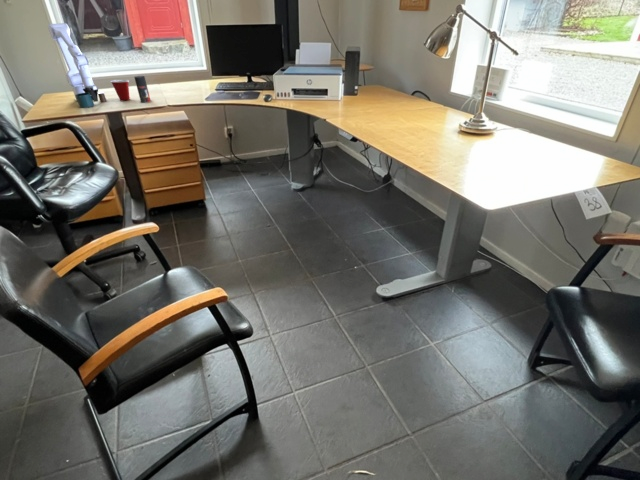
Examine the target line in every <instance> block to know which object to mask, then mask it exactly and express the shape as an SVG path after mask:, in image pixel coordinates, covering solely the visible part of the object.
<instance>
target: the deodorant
mask: <svg viewBox="0 0 640 480" xmlns="http://www.w3.org/2000/svg"><path fill="white" fill-rule="evenodd" d="M134 81H135V85H136V88H137V93H138V97H139V100H140V103H141V104H146V103H151V101H152V100H151V97H150V92H149V88H148V85H147V80H146V77H145V75H135V76H134Z"/></svg>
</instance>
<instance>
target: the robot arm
mask: <svg viewBox="0 0 640 480" xmlns="http://www.w3.org/2000/svg"><path fill="white" fill-rule="evenodd" d="M47 29H48V32H49V34H50V37H51V38H52V40H53V41H55V42H56V43H57V45H58V47H59V49H60V52H61V54H62V57H63V58H64V62H65V64H66V67H67V68H68V70H67V71H66V74H65V75H66V80H67V82H68V84H69V86H70V87H72V93H73V95H74V98H75V99H74V101H76V102H78V101H77V99H76V96H75V95H77V94H80V93H90V95H91V96H92V97H91V98H92V100H93V103H94V102H98V100H99V96H98V92H99V89H98V88H97V85H95V84H94V81H93V78H92V77H93V76H92V74H91V71H90V68H89V65H90V64H89V60H88V57H87V56H86V54H84V53H82V52H81V50H80V48H79V46H78V45H76V44H75V43H74V42H73V40H72V38H71V30H70V27H69V25H68V24H67V23H66V22H62V23H61V22H60V23H48V24H47Z"/></svg>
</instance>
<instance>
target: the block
mask: <svg viewBox="0 0 640 480" xmlns="http://www.w3.org/2000/svg"><path fill="white" fill-rule="evenodd" d="M97 95H98V100H99V101H100V103H106V102H107V99H106V95H105V92H104V91H98V94H97Z"/></svg>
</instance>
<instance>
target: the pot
mask: <svg viewBox="0 0 640 480" xmlns="http://www.w3.org/2000/svg"><path fill="white" fill-rule="evenodd" d="M75 96H76V98H75V99H77V101H76V102H77V103H78V106H79V108H81V109H87V108H91V107H93V106H95V104H94V100H92V98H91V97H92V96H91V95H90V93H80V94H77V95H74V97H75Z"/></svg>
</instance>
